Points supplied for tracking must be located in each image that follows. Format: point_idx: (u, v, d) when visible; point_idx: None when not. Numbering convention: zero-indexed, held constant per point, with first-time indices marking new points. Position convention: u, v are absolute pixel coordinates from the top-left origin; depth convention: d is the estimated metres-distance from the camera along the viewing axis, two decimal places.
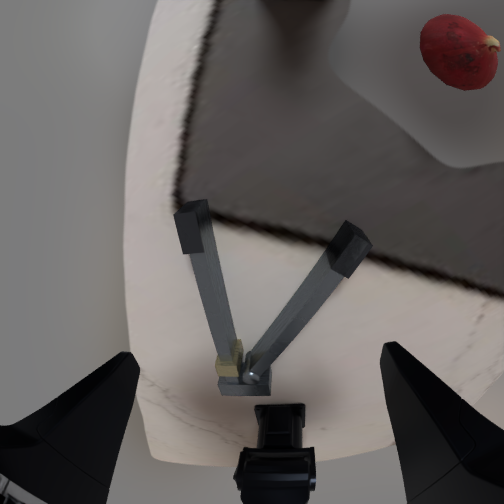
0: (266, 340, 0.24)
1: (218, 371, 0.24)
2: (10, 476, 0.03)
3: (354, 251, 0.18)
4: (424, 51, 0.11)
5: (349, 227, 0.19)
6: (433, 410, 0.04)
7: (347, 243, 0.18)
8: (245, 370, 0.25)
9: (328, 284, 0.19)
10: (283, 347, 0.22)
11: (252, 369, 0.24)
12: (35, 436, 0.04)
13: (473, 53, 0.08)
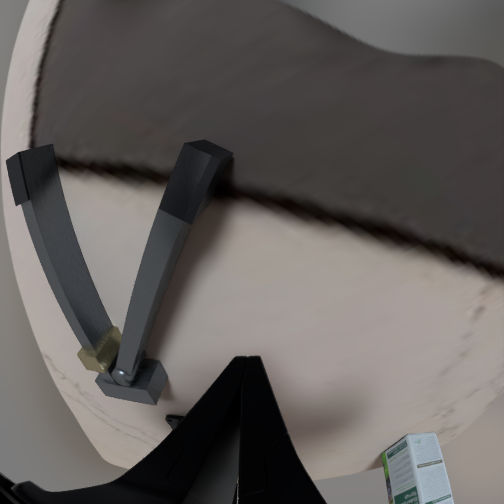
0: None
1: (83, 363, 0.16)
2: None
3: (189, 173, 0.10)
4: None
5: (195, 142, 0.11)
6: (244, 435, 0.05)
7: (177, 161, 0.10)
8: None
9: (161, 236, 0.12)
10: (137, 338, 0.15)
11: (117, 366, 0.16)
12: (173, 490, 0.04)
13: None
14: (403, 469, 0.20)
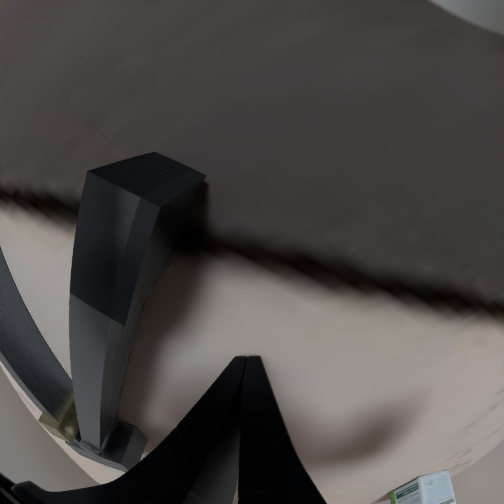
0: None
1: (47, 428, 0.11)
2: None
3: (103, 235, 0.05)
4: None
5: None
6: (244, 435, 0.05)
7: (83, 209, 0.05)
8: None
9: (86, 333, 0.06)
10: (96, 427, 0.09)
11: (83, 440, 0.10)
12: (173, 490, 0.04)
13: None
14: None
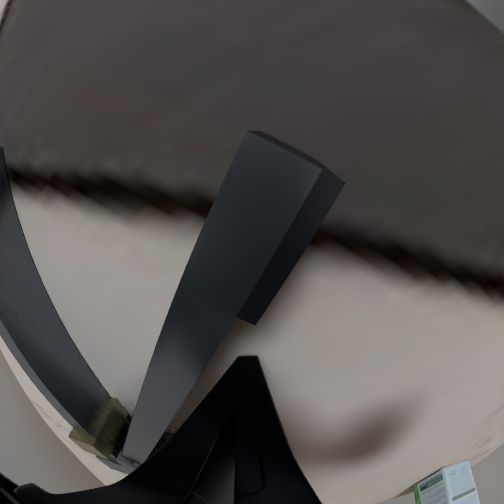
0: None
1: (78, 444, 0.10)
2: None
3: (258, 212, 0.04)
4: None
5: None
6: (241, 435, 0.05)
7: (224, 180, 0.04)
8: (120, 451, 0.11)
9: (186, 339, 0.05)
10: (150, 443, 0.08)
11: (124, 455, 0.10)
12: (179, 491, 0.04)
13: None
14: (437, 502, 0.14)
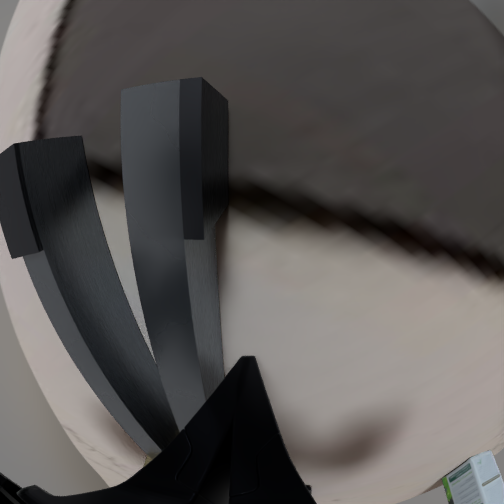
0: None
1: None
2: None
3: (152, 136, 0.04)
4: None
5: None
6: (237, 435, 0.05)
7: (124, 131, 0.05)
8: None
9: (160, 288, 0.06)
10: None
11: None
12: (184, 493, 0.04)
13: None
14: (468, 490, 0.13)
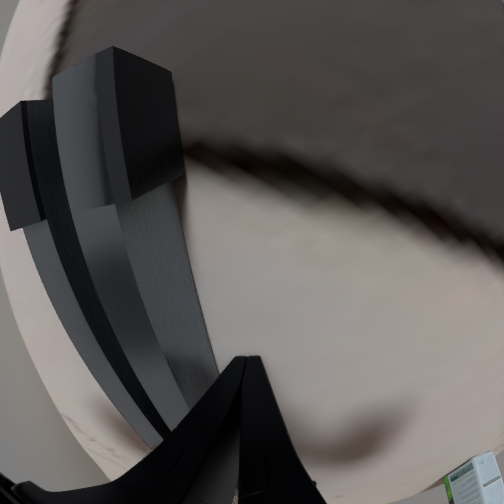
0: None
1: None
2: None
3: (77, 110, 0.04)
4: None
5: None
6: (244, 435, 0.05)
7: (59, 113, 0.04)
8: None
9: (105, 260, 0.05)
10: None
11: None
12: (173, 490, 0.04)
13: None
14: (469, 490, 0.13)
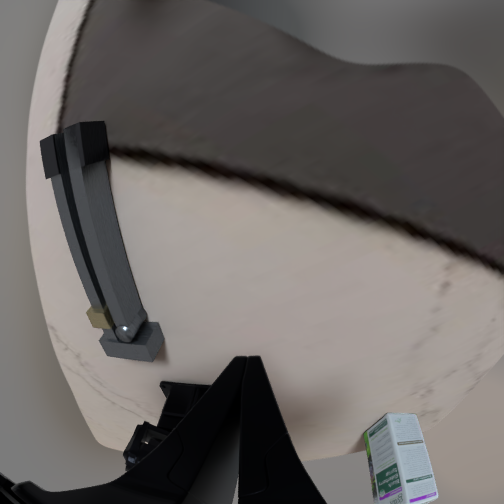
0: None
1: (91, 320, 0.20)
2: None
3: (71, 140, 0.14)
4: None
5: None
6: (244, 435, 0.05)
7: (66, 140, 0.14)
8: None
9: (77, 184, 0.15)
10: (107, 278, 0.18)
11: (115, 321, 0.20)
12: (173, 490, 0.04)
13: None
14: (384, 446, 0.24)
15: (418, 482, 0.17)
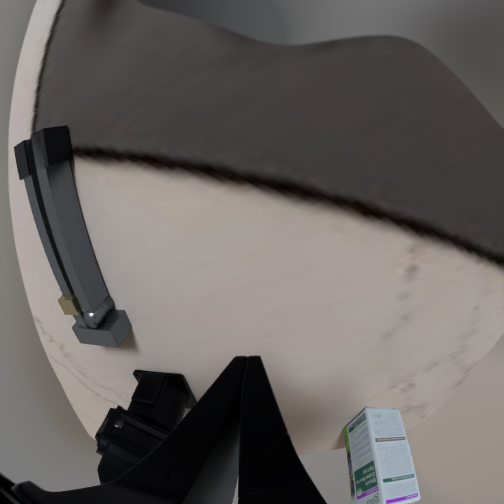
0: None
1: (62, 307, 0.20)
2: None
3: (37, 145, 0.15)
4: None
5: None
6: (244, 435, 0.05)
7: (33, 145, 0.15)
8: None
9: (43, 183, 0.16)
10: (71, 266, 0.19)
11: (82, 307, 0.21)
12: (174, 491, 0.04)
13: None
14: (362, 443, 0.24)
15: (397, 482, 0.18)
